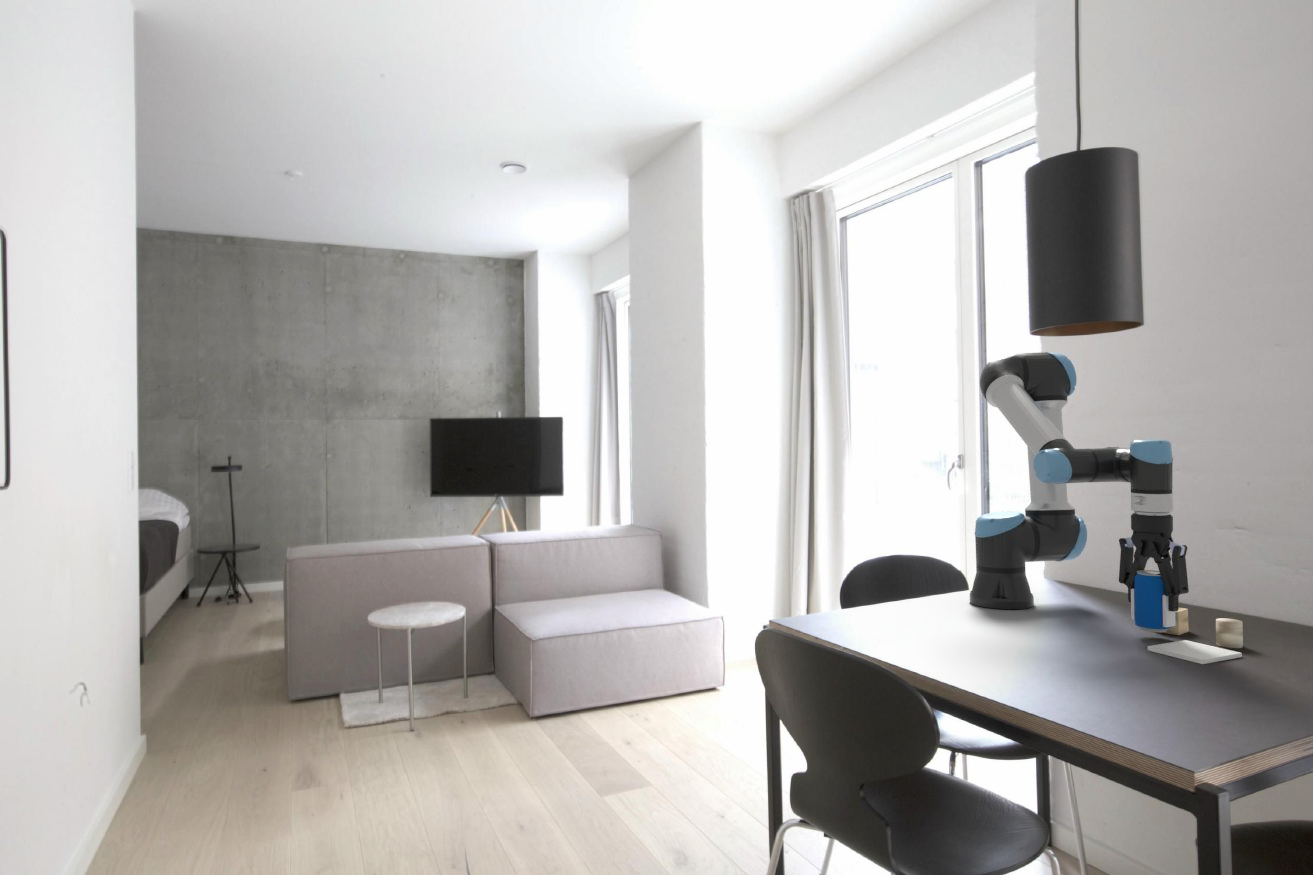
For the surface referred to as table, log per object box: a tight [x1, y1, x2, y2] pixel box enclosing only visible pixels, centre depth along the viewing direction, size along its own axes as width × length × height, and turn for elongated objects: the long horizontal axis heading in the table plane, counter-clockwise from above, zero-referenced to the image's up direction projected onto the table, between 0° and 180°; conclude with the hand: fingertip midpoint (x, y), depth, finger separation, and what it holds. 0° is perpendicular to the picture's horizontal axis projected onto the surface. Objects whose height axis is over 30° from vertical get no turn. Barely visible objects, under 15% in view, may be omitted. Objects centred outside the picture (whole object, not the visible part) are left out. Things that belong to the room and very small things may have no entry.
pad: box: [1147, 639, 1243, 665], centre depth 157 cm, size 11×11×1 cm
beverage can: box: [1134, 569, 1171, 633], centre depth 169 cm, size 6×6×12 cm
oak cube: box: [1161, 607, 1190, 636], centre depth 175 cm, size 5×5×5 cm
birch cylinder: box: [1215, 617, 1244, 649], centre depth 162 cm, size 4×4×5 cm
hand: (1152, 622), depth 169 cm, fingers closed on beverage can, 6 cm apart
